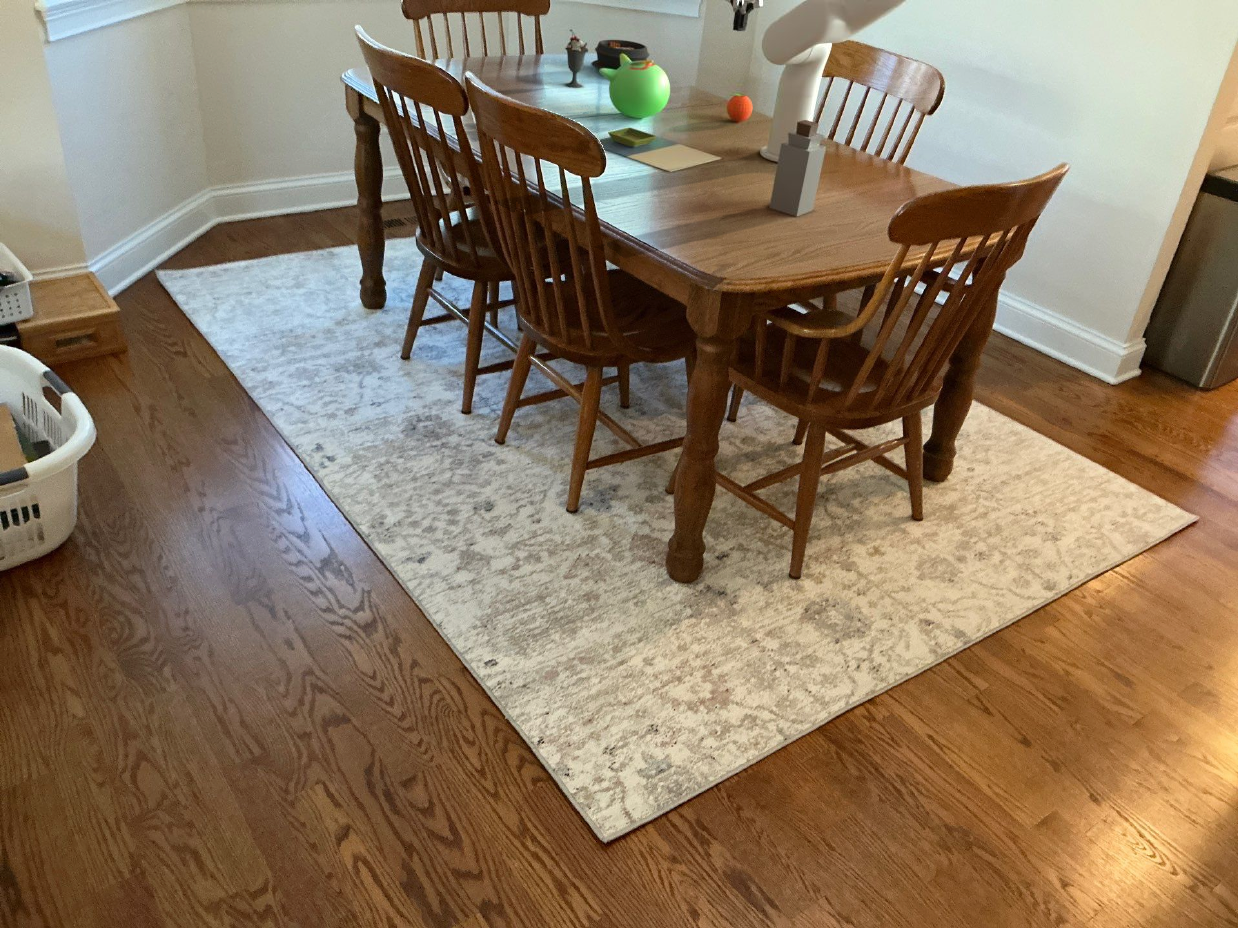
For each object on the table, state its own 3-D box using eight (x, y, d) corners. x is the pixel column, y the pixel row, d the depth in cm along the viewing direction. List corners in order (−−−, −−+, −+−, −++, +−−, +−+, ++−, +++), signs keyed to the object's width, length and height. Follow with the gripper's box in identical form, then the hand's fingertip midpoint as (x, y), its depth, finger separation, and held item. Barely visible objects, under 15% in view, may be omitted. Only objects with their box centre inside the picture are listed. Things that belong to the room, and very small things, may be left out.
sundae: (558, 83, 287) (562, 27, 279) (579, 82, 290) (583, 28, 281) (567, 88, 282) (571, 32, 274) (588, 88, 285) (593, 33, 276)
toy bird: (654, 129, 254) (661, 69, 246) (593, 117, 257) (598, 58, 249) (674, 115, 268) (681, 58, 260) (616, 104, 272) (621, 48, 264)
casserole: (586, 62, 315) (589, 34, 310) (644, 66, 318) (646, 39, 313) (594, 80, 294) (597, 50, 290) (655, 84, 297) (658, 55, 293)
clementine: (718, 121, 267) (722, 94, 264) (724, 115, 273) (728, 89, 269) (747, 126, 266) (751, 99, 262) (752, 120, 271) (756, 94, 267)
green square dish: (656, 144, 241) (657, 136, 240) (634, 150, 235) (635, 141, 234) (628, 136, 245) (629, 127, 244) (606, 141, 239) (607, 132, 238)
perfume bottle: (785, 201, 213) (802, 116, 203) (812, 210, 210) (830, 124, 200) (769, 207, 209) (785, 121, 199) (796, 216, 205) (814, 129, 196)
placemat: (721, 158, 237) (721, 158, 236) (669, 172, 223) (669, 171, 223) (639, 132, 250) (639, 131, 250) (586, 143, 237) (586, 142, 236)
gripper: (717, -57, 235) (706, 25, 245) (768, -47, 227) (755, 37, 237) (735, -57, 240) (723, 24, 250) (786, -48, 232) (772, 35, 242)
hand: (739, 30), depth 243 cm, fingers closed
